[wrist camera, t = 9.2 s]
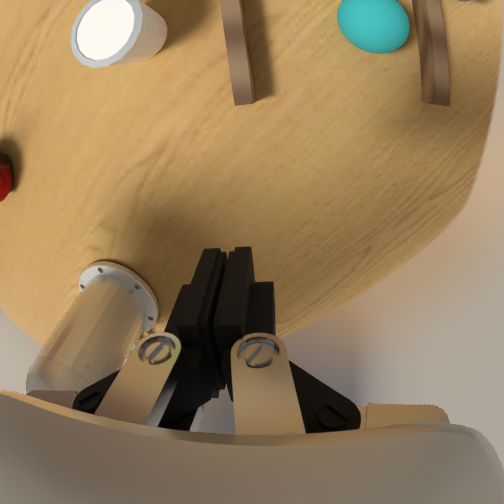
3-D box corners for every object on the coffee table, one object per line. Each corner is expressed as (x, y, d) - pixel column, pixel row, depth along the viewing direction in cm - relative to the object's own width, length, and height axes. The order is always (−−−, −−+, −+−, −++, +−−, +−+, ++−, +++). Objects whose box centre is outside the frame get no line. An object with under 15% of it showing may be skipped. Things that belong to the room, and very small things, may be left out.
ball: (380, 9, 19) (378, 62, 21) (325, -11, 17) (322, 46, 20) (423, 0, 14) (423, 61, 16) (364, -29, 12) (364, 38, 15)
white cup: (183, 8, 20) (153, -10, 14) (162, 72, 23) (128, 71, 17) (121, 4, 19) (82, -8, 13) (104, 64, 23) (62, 66, 17)
